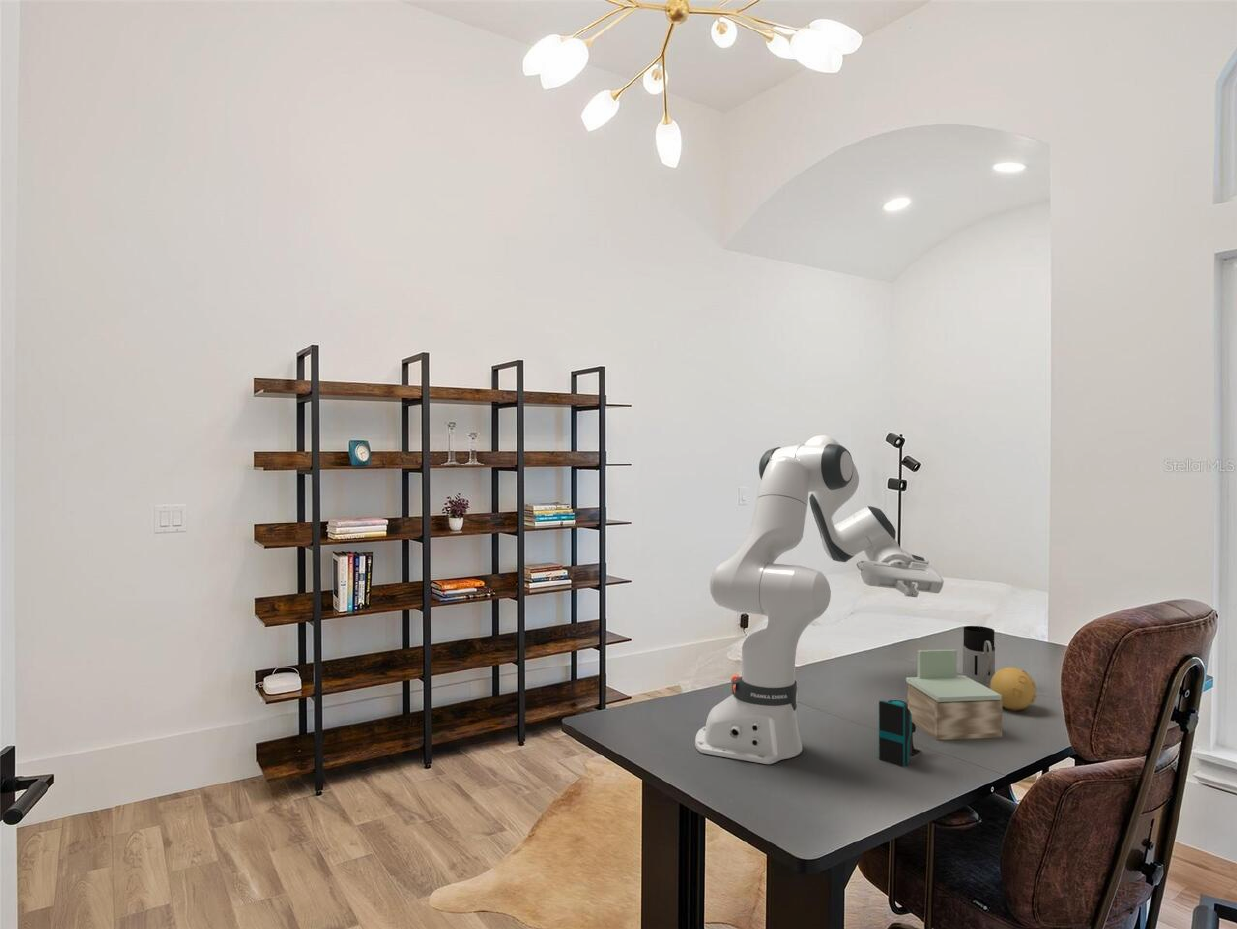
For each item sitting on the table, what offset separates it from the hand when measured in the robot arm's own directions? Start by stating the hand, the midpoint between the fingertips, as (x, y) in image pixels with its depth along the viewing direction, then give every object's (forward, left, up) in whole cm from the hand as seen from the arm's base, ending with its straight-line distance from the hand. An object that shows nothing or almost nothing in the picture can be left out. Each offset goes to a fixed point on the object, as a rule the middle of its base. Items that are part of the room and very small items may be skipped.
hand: (912, 594), depth 181 cm
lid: (+6, -14, -19) cm, 24 cm away
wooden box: (+7, -14, -27) cm, 32 cm away
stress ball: (+24, +2, -28) cm, 36 cm away
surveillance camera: (-7, -33, -28) cm, 44 cm away
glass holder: (+21, +18, -28) cm, 39 cm away
